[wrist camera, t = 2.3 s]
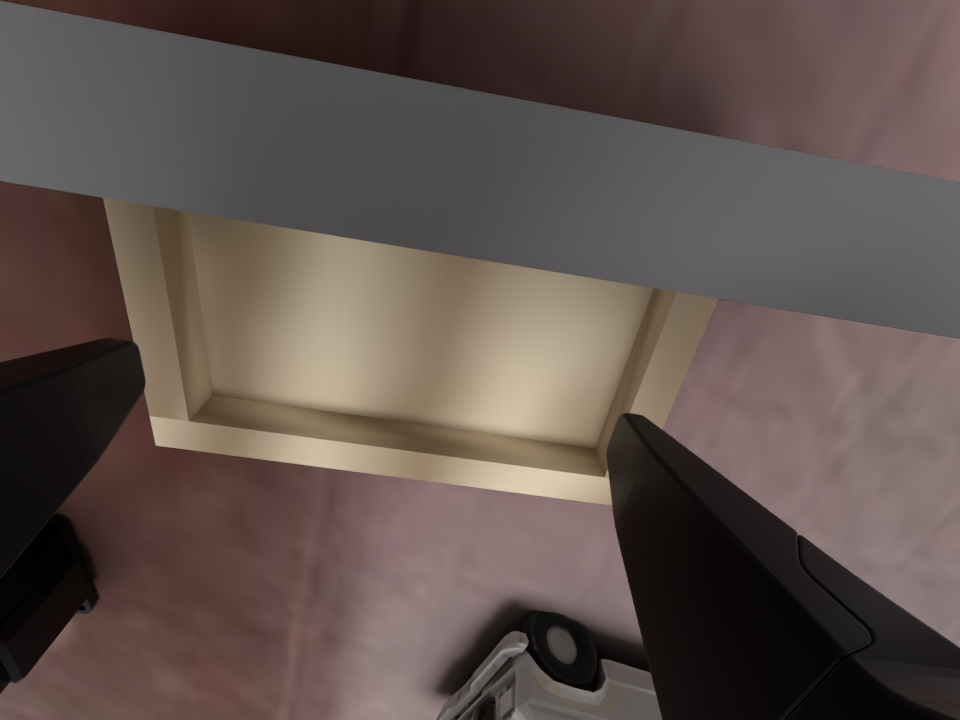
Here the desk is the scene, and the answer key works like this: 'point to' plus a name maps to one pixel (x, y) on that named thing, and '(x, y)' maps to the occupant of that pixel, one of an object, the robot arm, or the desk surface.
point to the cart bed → (392, 354)
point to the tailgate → (468, 173)
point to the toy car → (552, 679)
